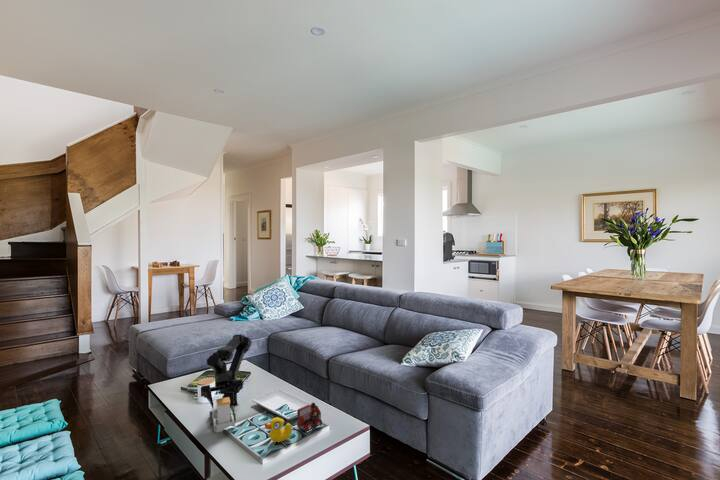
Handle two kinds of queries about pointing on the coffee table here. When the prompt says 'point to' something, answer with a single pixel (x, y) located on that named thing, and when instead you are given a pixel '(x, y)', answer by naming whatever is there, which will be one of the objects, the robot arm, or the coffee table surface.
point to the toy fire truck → (309, 417)
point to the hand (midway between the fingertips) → (223, 405)
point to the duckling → (278, 430)
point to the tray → (280, 402)
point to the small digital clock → (221, 426)
